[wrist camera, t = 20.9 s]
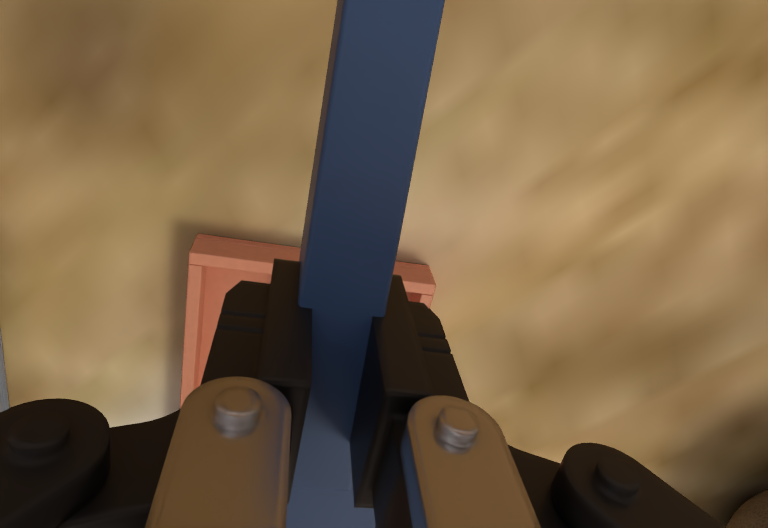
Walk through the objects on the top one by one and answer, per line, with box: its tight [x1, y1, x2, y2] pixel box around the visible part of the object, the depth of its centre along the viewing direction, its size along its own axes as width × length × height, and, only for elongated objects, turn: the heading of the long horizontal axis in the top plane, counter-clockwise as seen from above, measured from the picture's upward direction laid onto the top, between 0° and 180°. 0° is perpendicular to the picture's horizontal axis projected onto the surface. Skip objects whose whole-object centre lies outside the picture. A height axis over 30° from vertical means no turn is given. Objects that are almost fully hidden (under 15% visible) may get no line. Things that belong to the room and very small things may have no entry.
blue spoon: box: [286, 0, 445, 528], centre depth 10 cm, size 13×5×3 cm, turn 168°
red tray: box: [180, 234, 436, 409], centre depth 30 cm, size 17×11×2 cm, turn 168°
